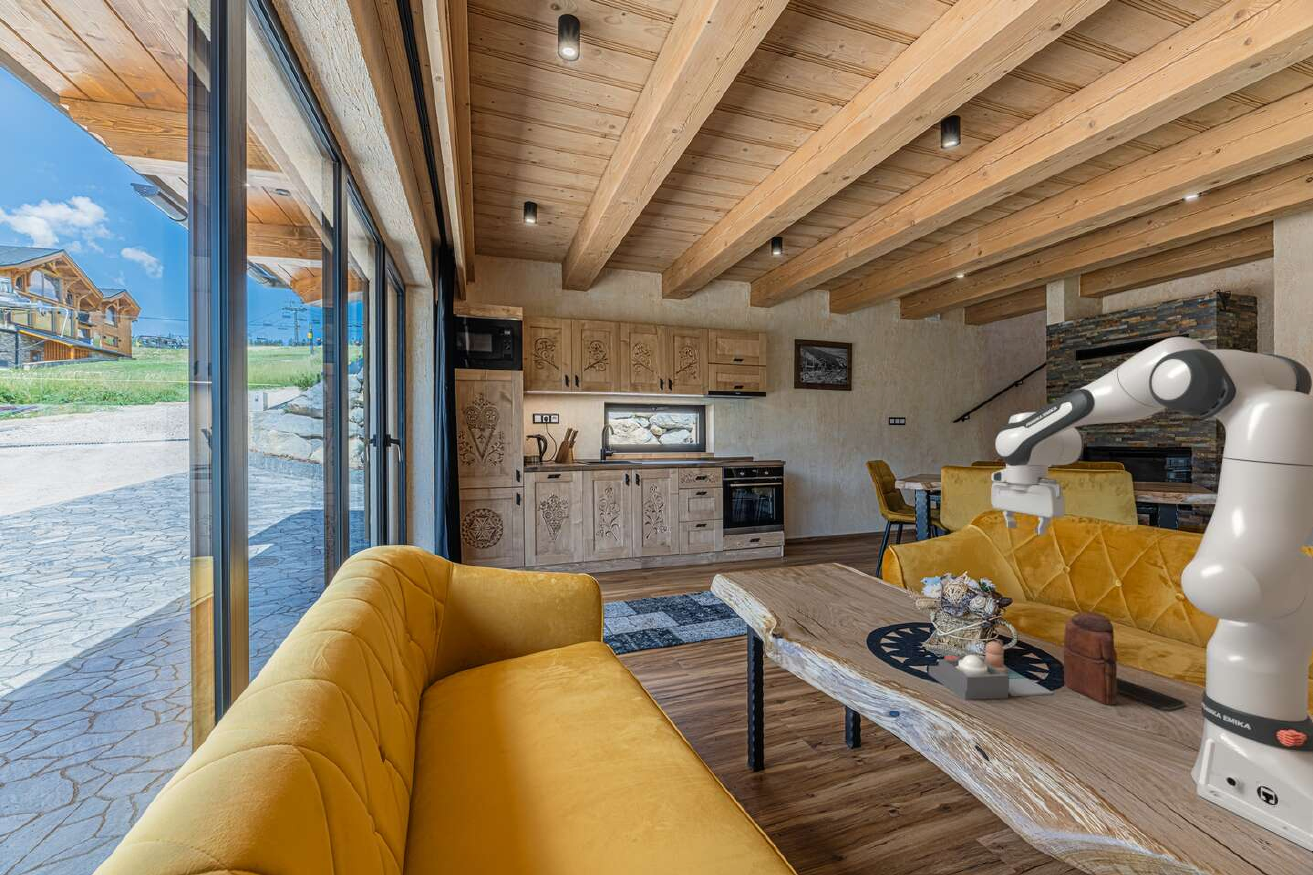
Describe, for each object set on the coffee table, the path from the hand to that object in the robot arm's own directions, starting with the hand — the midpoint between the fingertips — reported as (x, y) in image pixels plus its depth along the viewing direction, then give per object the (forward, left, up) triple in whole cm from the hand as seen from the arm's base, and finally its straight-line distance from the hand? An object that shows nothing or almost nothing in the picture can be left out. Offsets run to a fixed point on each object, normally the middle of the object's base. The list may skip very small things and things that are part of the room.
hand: (1025, 531), depth 141 cm
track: (-9, +12, -33) cm, 36 cm away
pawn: (-5, +12, -33) cm, 35 cm away
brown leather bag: (-17, -2, -33) cm, 37 cm away
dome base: (-11, +24, -33) cm, 42 cm away
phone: (-18, -12, -34) cm, 40 cm away
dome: (-13, +24, -31) cm, 41 cm away
